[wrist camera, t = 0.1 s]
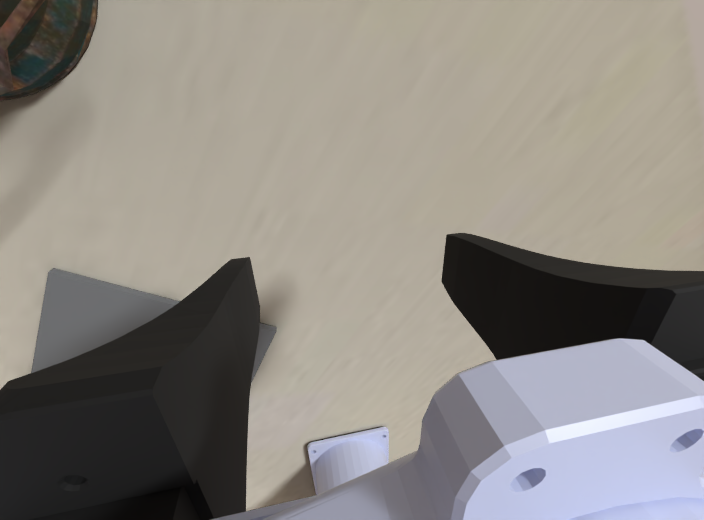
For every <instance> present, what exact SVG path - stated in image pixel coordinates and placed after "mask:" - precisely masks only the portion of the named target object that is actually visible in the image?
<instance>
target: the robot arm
mask: <svg viewBox="0 0 704 520" xmlns="http://www.w3.org/2000/svg"><path fill="white" fill-rule="evenodd" d="M442 283H443V285H444V287H445V289H446V291H447V293H448V294H449V296H450V298H451V299H452V301H453V303H454V304H455V305H456V307H457V308H458V309H459V310H460V312H461V313H462V314H463V316H464V317H465V318H466V319H467V321H468V322H469V323H470V324H471V326H472V327H473V328H474V329H475V331H476V332H477V333H478V334H479V336H480V337H481V338H482V340H483V341H484V342H485V343H486V345H487V346H488V347H489V349H490V350H491V352H492V353H493V354H494V356H495V358H496V359H497V360H494V361H489V362H485V363H483V364H480V365H477V366H475V367H472V368H469V369H467V370H464V371H462V372H459V373H457V374H456V375H455V376H454V377H453V378H451V379H450V380H449V381H448V382H447V383H446V384H444V385H443V386H442V387H441V388H440V389H439V390H437V391H436V392H435V394H434V395H433V397H432V400H431V402H430V404H429V406H428V409H427V411H426V413H425V415H424V417H423V420H422V428H421V439H420V445H419V448H418V451H415V452H413V453H411V454H408V455H406V456H404V457H402V458H399V459H397V460H395V461H393V462H390V463H388V436H389V432H388V429H387V428H386V427H380V428H376V429H371V430H366V431H362V432H357V433H352V434H348V435H343V436H338V437H333V438H329V439H324V440H319V441H315V442H311V443H309V444H308V446H307V448H308V454H309V460H310V465H311V471H312V476H313V481H314V487H315V492H316V495H315V496H311V497H306V498H302V499H298V500H293V501H289V502H285V503H280V504H276V505H272V506H267V507H263V508H259V509H254V510H250V511H246V466H247V435H248V412H249V395H250V386H251V380H252V374H253V367H254V361H255V355H256V349H257V343H258V337H259V330H260V305H259V300H258V295H257V290H256V285H255V280H254V275H253V270H252V265H251V260H250V257H247V258H238V259H231V260H230V261H228V262H227V263H226V264H225V265H224V266H222V267H221V268H220V269H219V270H218V271H217V272H216V273H215V274H214V275H212V276H211V277H210V278H209V279H208V280H207V281H206V282H204V283H203V284H202V285H201V286H200V287H198V288H197V289H196V290H195V291H193V292H192V293H191V294H189V295H188V296H187V297H186V298H184V299H183V300H182V301H180V302H179V303H178V304H176V305H175V306H173V307H172V308H170V309H169V310H167V311H166V312H164V313H162V314H161V315H159V316H158V317H156V318H154V319H153V320H151V321H149V322H147V323H146V324H144V325H142V326H140V327H138V328H136V329H134V330H132V331H131V332H129V333H127V334H125V335H123V336H121V337H119V338H117V339H115V340H113V341H111V342H108V343H106V344H104V345H102V346H100V347H98V348H95V349H93V350H91V351H88V352H86V353H83V354H81V355H79V356H76V357H74V358H71V359H69V360H66V361H64V362H61V363H58V364H55V365H53V366H50V367H47V368H44V369H42V370H39V371H36V372H33V373H31V374H28V375H25V376H22V377H19V378H16V379H13V380H10V381H8V382H7V383H6V384H5V385H4V387H3V388H2V389H1V390H0V520H704V271H664V270H648V269H633V268H622V267H613V266H605V265H597V264H590V263H583V262H577V261H572V260H567V259H561V258H556V257H552V256H547V255H543V254H539V253H535V252H531V251H528V250H524V249H520V248H517V247H513V246H510V245H507V244H503V243H500V242H497V241H493V240H490V239H487V238H483V237H480V236H476V235H472V234H467V233H456V234H448V235H447V236H446V245H445V254H444V264H443V273H442Z"/></svg>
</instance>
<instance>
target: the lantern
mask: <svg viewBox="0 0 704 520" xmlns="http://www.w3.org/2000/svg"><path fill="white" fill-rule="evenodd" d="M97 9H98V0H0V101H2V100H8V99H15V98H20V97H24V96H28V95H32V94H35V93H37V92H39V91H41V90H43V89H45V88H47V87H49V86H51V85H52V84H54V83H55V82H57V81H58V80H60V79H61V78H63V77H64V76H66V75H67V74H68V73H69V72H70V71H71V70H72V68H73V67H74V66H75V65H76V63H77V62H78V60H79V59H80V58H81V56H82V55H83V53H84V52H85V50H86V49H87V47H88V45H89V42H90V39H91V36H92V32H93V29H94V26H95V23H96V19H97Z"/></svg>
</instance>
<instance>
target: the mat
mask: <svg viewBox="0 0 704 520" xmlns="http://www.w3.org/2000/svg"><path fill="white" fill-rule="evenodd" d="M178 303H179V301H176V300H172V299H168V298H164V297H161V296H157V295H153V294H149V293H145V292H142V291H138V290H134V289H130V288H127V287H123V286H119V285H115V284H111V283H108V282H104V281H100V280H96V279H93V278H89V277H85V276H81V275H77V274H74V273H70V272H66V271H62V270H59V269H55V268H53V269H52V270H50V271H49V272H48V277H47V283H46V288H45V294H44V300H43V306H42V312H41V318H40V324H39V330H38V336H37V342H36V348H35V353H34V359H33V365H32V371H31V373H33V372H36V371H39V370H42V369H44V368H47V367H50V366H53V365H55V364H58V363H61V362H64V361H66V360H69V359H71V358H74V357H76V356H79V355H81V354H83V353H86V352H88V351H91V350H93V349H95V348H98V347H100V346H102V345H104V344H106V343H108V342H111V341H113V340H115V339H117V338H119V337H121V336H123V335H125V334H127V333H129V332H131V331H132V330H134V329H136V328H138V327H140V326H142V325H144V324H146V323H147V322H149V321H151V320H153V319H154V318H156V317H158V316H159V315H161V314H162V313H164V312H166V311H167V310H169V309H170V308H172V307H173V306H175V305H176V304H178ZM275 333H276V327H274V326H270V325H266V324H262V323H260V330H259V337H258V343H257V349H256V355H255V361H254V367H253V374H252V380H253V378H254V376H255V374H256V372H257V370H258V368H259V366H260V364H261V362H262V360H263V358H264V356H265V353H266V351H267V349H268V347H269V345H270V343H271V341H272V339H273V337H274V335H275ZM252 380H251V382H252Z"/></svg>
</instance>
